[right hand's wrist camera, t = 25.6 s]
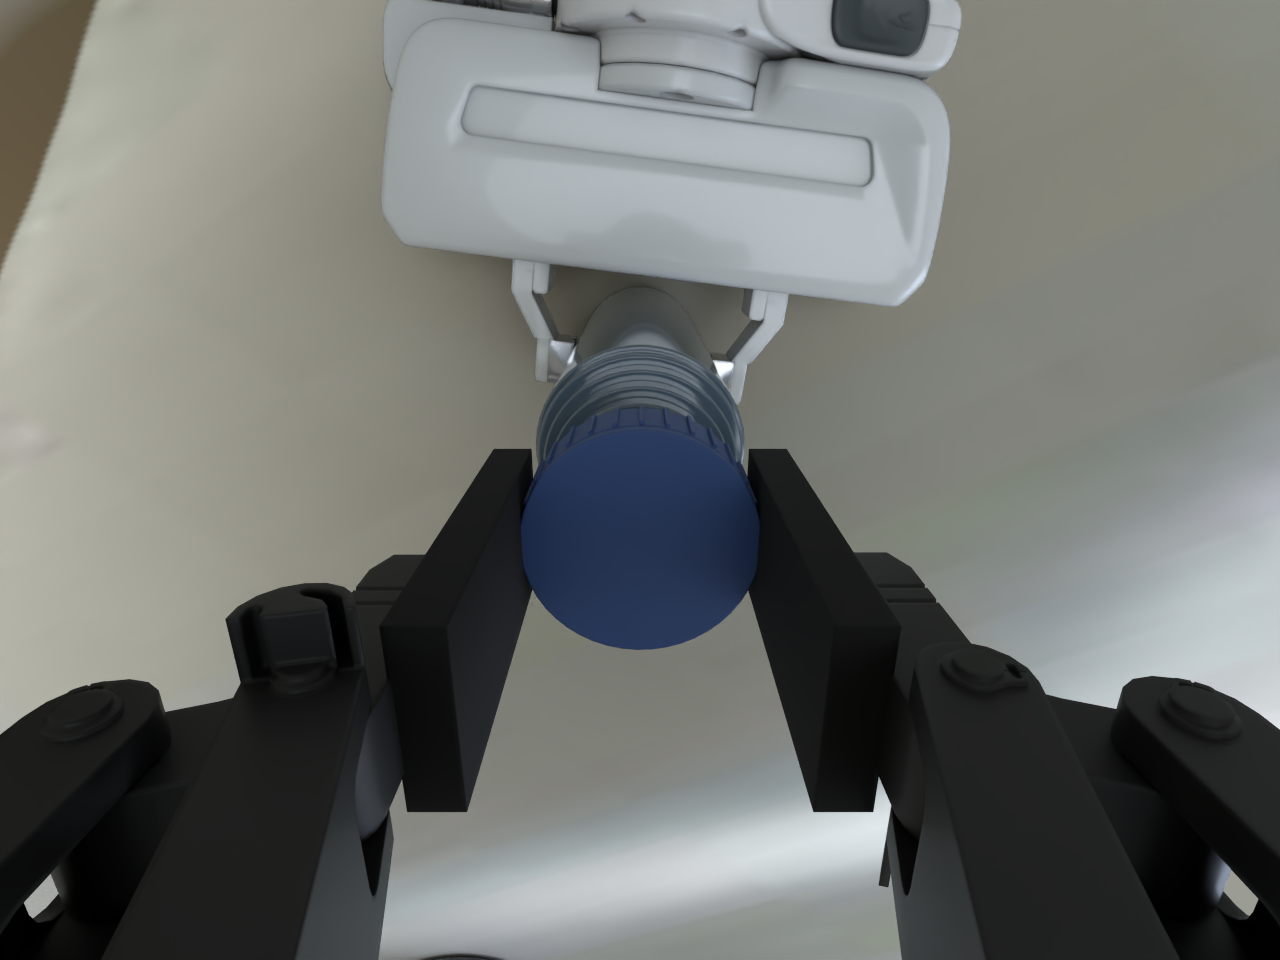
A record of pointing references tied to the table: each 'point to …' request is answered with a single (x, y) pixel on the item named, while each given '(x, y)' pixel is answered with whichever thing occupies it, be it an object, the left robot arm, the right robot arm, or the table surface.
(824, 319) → the table surface
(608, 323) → the bottle
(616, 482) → the cap
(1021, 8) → the table surface
